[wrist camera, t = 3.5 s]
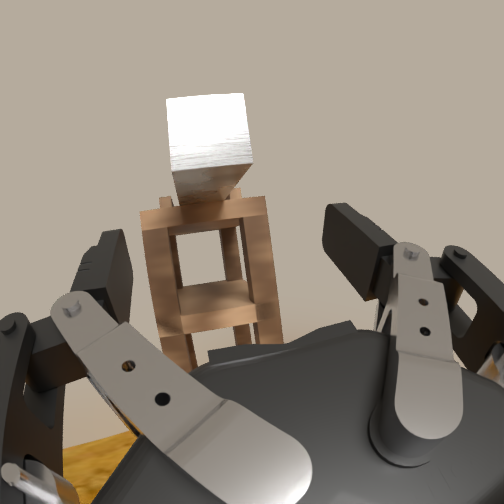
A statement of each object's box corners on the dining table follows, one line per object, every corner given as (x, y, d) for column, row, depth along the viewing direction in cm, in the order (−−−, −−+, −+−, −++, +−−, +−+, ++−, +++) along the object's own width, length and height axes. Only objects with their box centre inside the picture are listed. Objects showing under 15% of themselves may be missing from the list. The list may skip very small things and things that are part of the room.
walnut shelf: (214, 517, 24) (138, 196, 22) (201, 437, 41) (158, 217, 40) (299, 498, 26) (262, 181, 24) (262, 426, 43) (230, 208, 42)
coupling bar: (171, 171, 12) (166, 99, 12) (183, 221, 38) (180, 194, 37) (253, 163, 13) (243, 93, 13) (210, 217, 38) (207, 190, 38)
